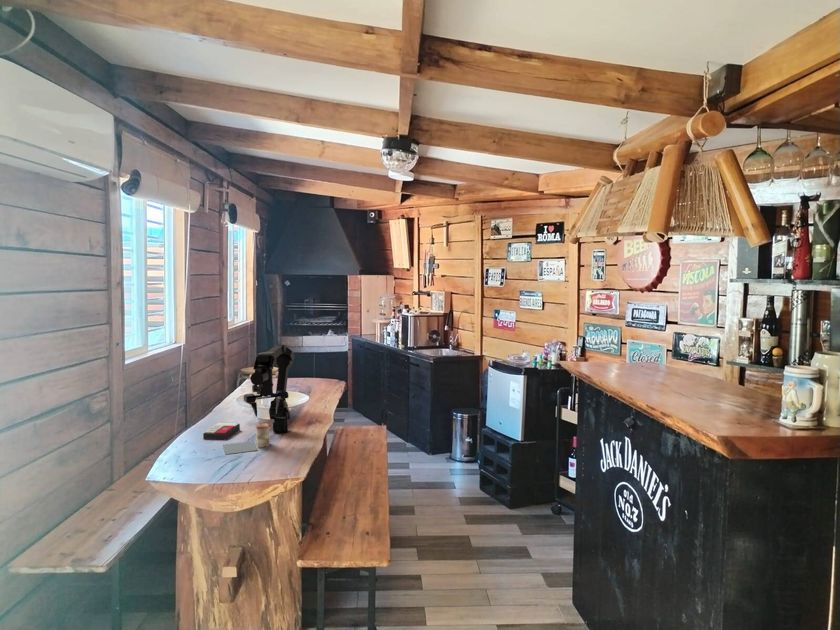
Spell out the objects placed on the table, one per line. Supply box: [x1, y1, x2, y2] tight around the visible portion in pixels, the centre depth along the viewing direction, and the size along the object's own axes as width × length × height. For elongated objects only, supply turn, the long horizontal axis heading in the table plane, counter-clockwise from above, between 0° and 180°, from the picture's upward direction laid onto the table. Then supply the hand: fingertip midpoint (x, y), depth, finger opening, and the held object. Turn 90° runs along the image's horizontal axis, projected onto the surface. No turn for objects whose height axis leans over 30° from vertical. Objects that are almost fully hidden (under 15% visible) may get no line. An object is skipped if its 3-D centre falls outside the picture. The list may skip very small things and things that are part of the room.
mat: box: [222, 440, 259, 455], centre depth 232 cm, size 13×14×1 cm
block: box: [255, 422, 270, 448], centre depth 235 cm, size 5×5×9 cm
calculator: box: [202, 422, 241, 441], centre depth 251 cm, size 11×4×15 cm
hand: (266, 415), depth 239 cm, fingers open, 9 cm apart
